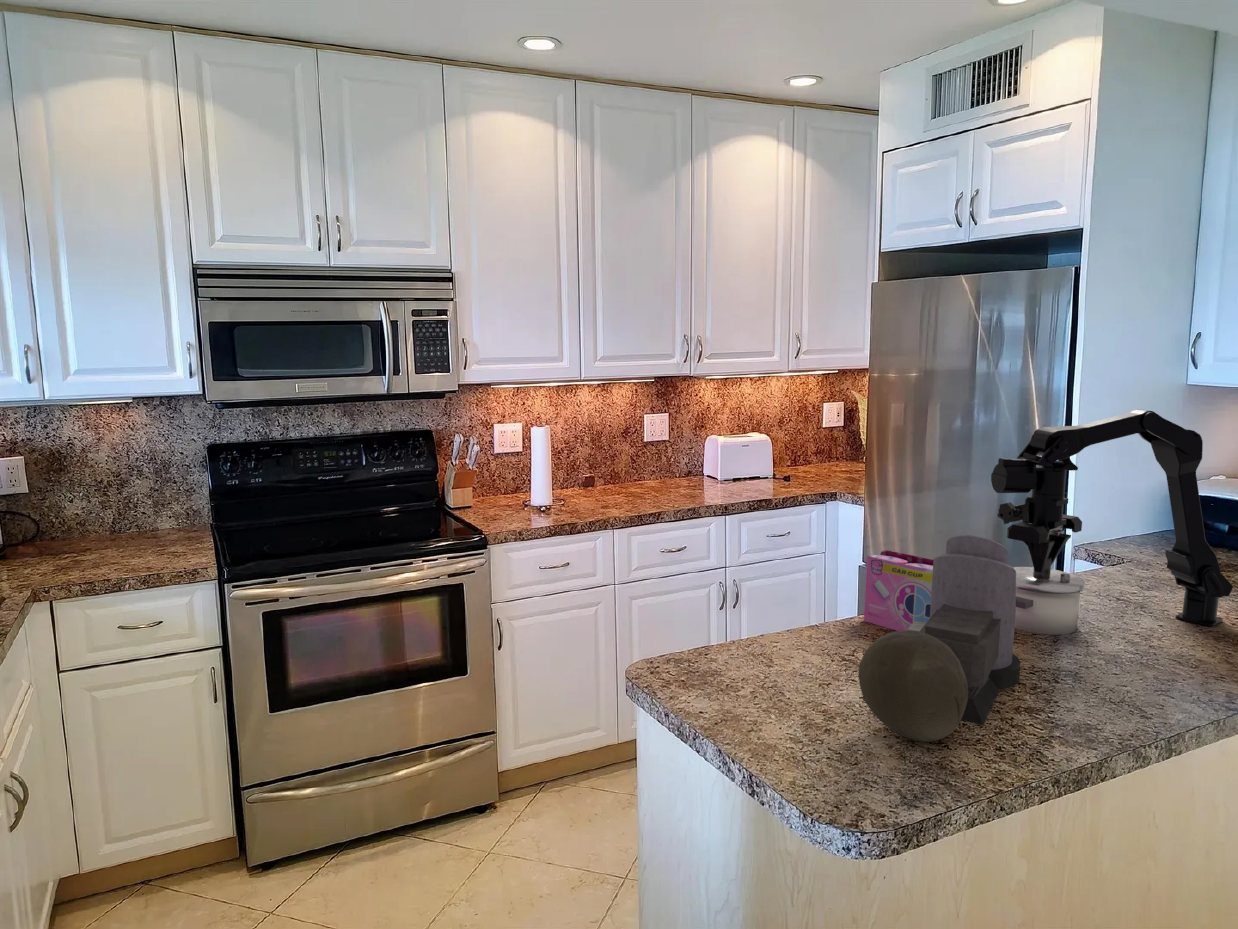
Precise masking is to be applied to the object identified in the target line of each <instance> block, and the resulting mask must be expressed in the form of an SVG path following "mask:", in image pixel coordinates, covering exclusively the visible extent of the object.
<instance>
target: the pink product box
mask: <svg viewBox="0 0 1238 929" xmlns="http://www.w3.org/2000/svg"><path fill="white" fill-rule="evenodd" d="M933 560H934V559H932V558H927V557H923V556H917V555H913V554H908V553H904V552H899V551H893V550H890V549H889V550H888V549H884V550H882V551H880V553H879V554H873V555H871V556H870V555H868V554H867V555H866V565H865V566H866V567H865V568H866V569H865V570H866V571H865V572H866V576H865V577H866V578H865V590H864V591H865V592H864V608H863V609H864V610H863V622H865V623H869V624H873V625H876V626H880V627H883V628H884V629H885V628H886V629H889V630H894V631H895V632H897V631H907V629H908V628H909V627H910V626H911V625H912V624H913V622H914V621H919V622H928V620H929V619H930V607H931V591H932V575H933Z"/></svg>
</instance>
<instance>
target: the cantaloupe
mask: <svg viewBox="0 0 1238 929" xmlns="http://www.w3.org/2000/svg"><path fill="white" fill-rule="evenodd" d="M858 681H859V687H860V690H861V694H862V698H863V700H864V702H865V703H866V705H867V707H868V708H869V710H870V711H871V712H872V713H873V714H874V716H875V717H876V718H877V719H879V720H878V721H880V722H882V724H883V725H885V727H887V728H888V729H890V730H891V731H893V732H894V733H897V734H898V735H900V736H903V737H904V738H907V739H910V740H912V741H916V742H923V743H928V742H929V743H931V742H935V741H940V740H941V739H944V738H947V737H948V736H950V735H951V734H953V733H954V731H956V729H957V728H958V726H959V725H960V723H961V721H962V720H961V719H962V716H963V714H964V711H965V708H966V704H967V701H968V685H967V680H966V677H965V673H964V671H963V668H962V666H961V663H960V661H959V659H958V658H957V656H956V655H955V654H954V652H953V651H952V650H951V649H950V647H949V646H947V645H946V644H945V643H943V642H941V641H940V640H938V639H937V638H935V637H933V636H931V635H929V634H925V633H922V632H916V631H892V632H888V633H886V634H884V635H883V636H881V637H879V638H878V639H876V640H875V641H874V642H872V643H871V645H869V646H868V648H866V650H865V652H864V654H863V656H862V657H861V660H860V662H859V665H858Z"/></svg>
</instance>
